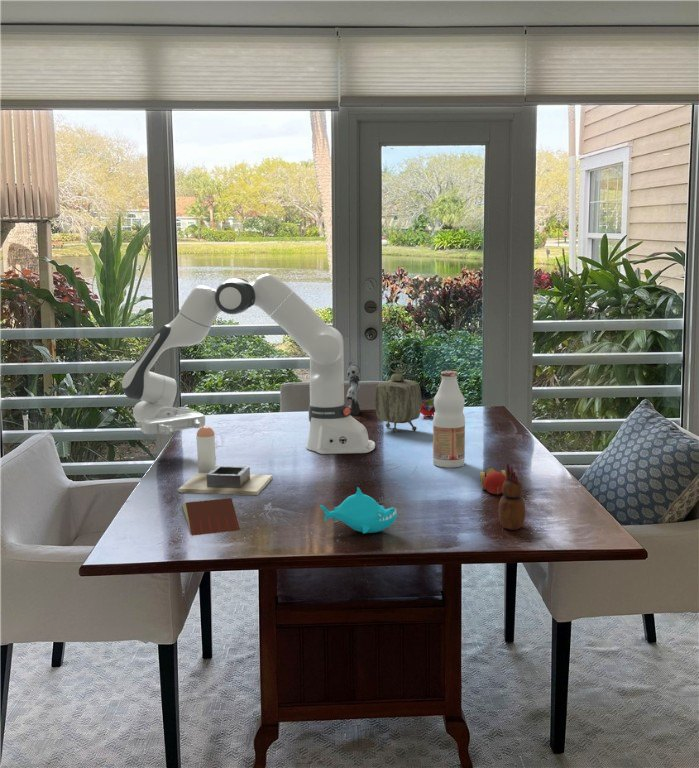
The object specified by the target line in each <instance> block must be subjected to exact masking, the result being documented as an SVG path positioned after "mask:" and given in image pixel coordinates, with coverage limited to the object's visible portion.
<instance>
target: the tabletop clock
mask: <svg viewBox="0 0 699 768" xmlns="http://www.w3.org/2000/svg"><path fill="white" fill-rule="evenodd" d="M395 363H397V364H402V365H403V366H404V369H403V370H400V369H399V368H396V369H395V370H394V369H392V368H391V365H392V364H395ZM388 369H389V370H390V371H391V372H393V374H392V375H391V376H390V379H389V380H385V381H383V382H379V383H377V386H376V390H375V399H374V400H375V412H376V413H375V414H376V417H377V419H379V420H381V421H383V422H387V423H385V427H386V428H390V427H391V424H394V426H393V428H392V432H393V433H397V432H398V429H397V424H407V423H408V424H409V425H410V426H411V429H412V431H413V432H416V431H417V426H414V424H413V422H412V421H414V420H417V419H419V418H420V415H421V413H420V412H421V405H422V391H421V386H420V384H419V382H417V381H415V380H409V379H405V376H404V375H403V374H402V373H405V371H406V370H407V365H406V363H405V362H403V361H400V360H392V361H390V362H389V363H388ZM390 423H391V424H390Z"/></svg>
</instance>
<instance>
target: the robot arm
mask: <svg viewBox="0 0 699 768" xmlns="http://www.w3.org/2000/svg"><path fill="white" fill-rule="evenodd" d="M253 306H255V307H258V308H259V309H260V310H262V311H263V312H265V314H266V315H267V316H268V317H270V318H271V319H272V320H273V321H274V323H276V324H277V325H278V326H279V327H280V328H281V329H283V330H284V331H285V333H287V334H288V336H290V337H291V339H292V340H293V341H294V342H295V343H296V345H298V346H299V347H300V348H301V349H302V350H303V351H304V353H305V354H306V355H307V356H308V357H309V405H308V420H309V421H308V422H309V430H308V437H307V441H306V445H305V449H307V450H309V451H312V452H316V453H318V454H321V455H328V454H329V455H330V454H331V455H332V454H336V455H337V454H367V453H370V452H371V451H374V449H375V448H376V443H375V441H373V440H371V439H369V434H368V430H367V427H365V426H364V424H362V423H360V421H358V420H356V418H354V417H353V416H352V415H350V413H351V410H350V406H351V405H347V404H346V403H345V387H344V386H345V384H344V383H345V380H344V379H345V374H344V373H345V370H344V369H345V367H344V365H345V363H344V359H345V358H344V357H345V356H344V351H345V350H344V347H345V346H344V338H343V335H342V333H341V332H340V331H339V330H338V329H337V328H335V327H333V326H331V325H330V326H329V325H328V324H327V323H326V322H325V321H324V320H323V318H321V317H320V316H319V315H318V314H317V312H315V310H314V309H313V308H312V307H311V306H310V305H309V304H308V303H306V301H304V299H302V298H301V297H300V296H299V294H297V293H296V292H295V291H293V289H291V288H290V287H289V286H288V285H287V284H285V282H283V281H282V280H280V279H279V278H277V277H276V276H275V275H273V274H271V273H264V274H261V275H259V276H257V278H255V279H254V280H253V281H252V282H249V281H248V280H246V279H244V278H239V277H238V278H235V277H234V278H228V279H227V280H224V281H222V282H221V283H220V284H218V287H217V288H213V287H210V286H208V285H197V286H195V287H194V288H193V289H192V291H190V293H189V294H188V296H187V297H186V298H185V301H184V302H183V304H182V306H181V308H180V309H179V311H178V313H177V315H176V316H175V318H174V319H172V321H170V322H169V323H167V324H164V325H162V326H161V327H160V328H158V329H157V331H156V332H155V334H154V335H152V338H151V339H150V340H149V341H148V343H147V344H146V346H145V347H144V349H143V350H142V352H141V353H140V354H139V356H138V357H137V359H136V360H135V362H134V363H133V364H132V365H131V366H130V367H129V368H128V370H126V372H125V373H124V375H123V376H122V379H121V382H120V386H121V389H122V392H123V393H124V395H125V396H126V397H127V398H128V399H130V400H131V399H132V400H138V401H139V402H137V403H136V404H135V405H134V407H133V410H132V415H133V418H134V420H135V421H136V423H135V427H136V428H139V429H140V432H142V433H143V434H144V435H156V434H160V435H163V436H164V435H165V436H166V435H170V434H172V433H174V432H177V431H184V430H189V429H200V428H201V427H204V426H206V415H205V414H203V413H201V412H198V411H196V410H191V408H190V407H187V406H186V407H184V406H182V407H181V406H180V407H179V406H178V407H177V404H178V402H179V399H180V394H181V393H180V387H179V384H178V382H177V380H176V379H175V378H172V377H170V376H168V375H167V376H166V375H163V374H159V373H156V372H154V371H150V370H151V369H152V368H153V366H154V365H155V363H156V362H157V360H158V359H159V357H160V356H161V354H162V353H163V352H165V351H166V350H168V349H172V348H176V347H190V346H195V345H198V344H200V343H202V342H203V341H204V340H205V338H206V337H207V336H208V334H209V332H210V330H211V327H212V326H213V323H214V321H215V320H216V317H217V316H218V315H219V314H220V313H221V312H223V313H225V314H228V315H238V314H241V313H243V312H246V311H247V310H248V309H250V308H251V307H253Z"/></svg>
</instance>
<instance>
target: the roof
mask: <svg viewBox="0 0 699 768" xmlns="http://www.w3.org/2000/svg"><path fill="white" fill-rule="evenodd" d="M181 507H182V510H183V512H184V516H185V519H186V522H187V525H188V529H189V531H190V535H191V537H192V536H200V535H210V534H218V533H227V532H228V533H229V532H236V531H241V529H240V524H239V522H238V515H237V514H236V513H237V512H236V510H235V506H234V502H233V498H232V497H228V498H218V499H208V500H198V501H187V502H184V503H183V504H182V505H181Z"/></svg>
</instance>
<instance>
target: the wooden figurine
mask: <svg viewBox="0 0 699 768" xmlns="http://www.w3.org/2000/svg"><path fill="white" fill-rule="evenodd" d="M505 472H506V481H504V483H503V485H502V493H501V494H502V496H501V497H500V499H499V502H498V518H499V521H500V524H501V526H502V528H504V529H506V530H509V531H510V530H512V531H513V530H519V529H521V528H522V527H523V524H524V522H525V518H526V505H525V502H524V500H523V498H522V497H521V496H522V494H523V485H522V483H521V481H519V479H518V478H519V477H518V475H516V472H515V471H514V469H513V466H510V465H509V463H506V470H505Z"/></svg>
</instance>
